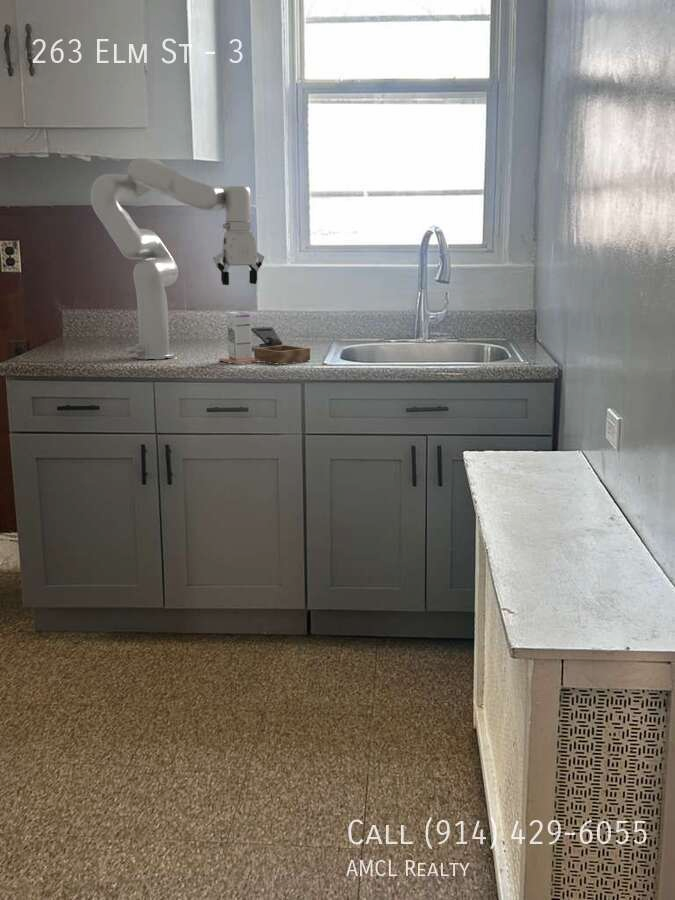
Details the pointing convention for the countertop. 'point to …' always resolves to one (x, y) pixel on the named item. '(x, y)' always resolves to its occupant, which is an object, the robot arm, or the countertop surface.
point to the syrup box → (239, 335)
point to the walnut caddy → (282, 354)
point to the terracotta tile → (239, 360)
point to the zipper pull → (267, 336)
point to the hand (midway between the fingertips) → (239, 284)
